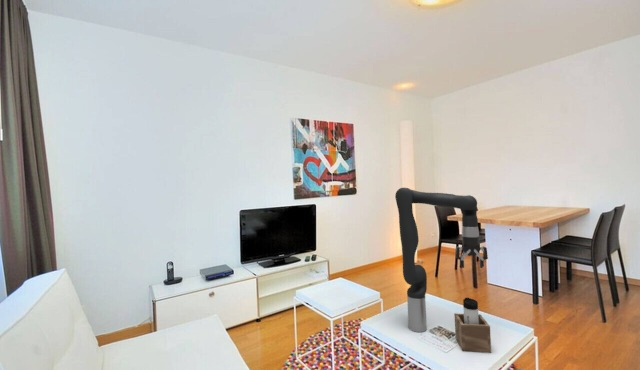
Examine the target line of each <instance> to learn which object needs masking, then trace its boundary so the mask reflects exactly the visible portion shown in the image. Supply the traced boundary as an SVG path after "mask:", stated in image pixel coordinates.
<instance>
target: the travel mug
mask: <svg viewBox="0 0 640 370" xmlns="http://www.w3.org/2000/svg"><path fill="white" fill-rule="evenodd" d="M462 305H463V308H462V309H463V314H464V324H479V317H478V314H479V302H478V301H477V300H476V299H473V298H470V297H464V298H463V301H462Z"/></svg>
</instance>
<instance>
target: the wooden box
mask: <svg viewBox="0 0 640 370" xmlns="http://www.w3.org/2000/svg"><path fill="white" fill-rule="evenodd" d="M453 314H454V334H455V340H456V341H457V343H458V345H459V347H460V350H461V351H462V352H470V353H483V354H484V353H485V354H492V345H491V344H492V340H491V339H492V338H491V325H490V324H489V323H488V322H487V321H486V319H485V318H484V317H483V316H482V314H479V313H478V317H479V324H464V313H453Z"/></svg>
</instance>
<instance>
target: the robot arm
mask: <svg viewBox="0 0 640 370" xmlns="http://www.w3.org/2000/svg"><path fill="white" fill-rule="evenodd" d="M395 202H396V206H397V211H398V225H399V236H400V242H401V243H400V244H401V252H402V253H401V255H402V275H403V279H404V281H405V282H406V284H407V285H409V288H407V290H406V300H407V320H408V321H407V323H408V329H409V330H411V331H413V332H416V333H423V332H426V331H427V305H426V303H427V302H426V293H427V290H428V289H427V285H428V279H427V278H428V276H427V272H426V269H425V267H424V266H422V265H421V264H415V263H416V262H415V261H416V260H415V258H416V257H415V256H416V252H417V249H418V246H419V231H418V225H417V222H416V220H415V217H414V213H413V212H414V211H413V204H423V205H424V204H425V205H429V206H436V207H441V208H442V207H444V208H454V209H460V210H461V213H462V215H461V216H462V217H461V225H462V227H461V238H462V245H461V246H455V258H456V259H457V260H459V266H460V267H461V268H462V269H464V268H465V261H464V260H465V258H466V257H467V256H468V257H471V256H473V257H478V258H479V268H480V269H483V268H484V266H485V264H484V263H485V262H484V261H485V260H488V259H489V257H488V248H487V247H485V246H484V245H483V246H480V231H479V224H478V223H479V222H478V219H479V218H478V215H477V211H478V209H477V207H478V200H477V199H476V197H474V196H473V195H470V194H469V195H458V194H453V193H445V192H444V193H443V192H424V191H423V192H422V191H420V190H419V191H417V190H414V189H411V188H408V187H400V188H398V189H397V190H396V192H395ZM480 251H481V252H482V254H483V255H481V254H480V253H479V252H480ZM460 252H462V253H461V255H460Z"/></svg>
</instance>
